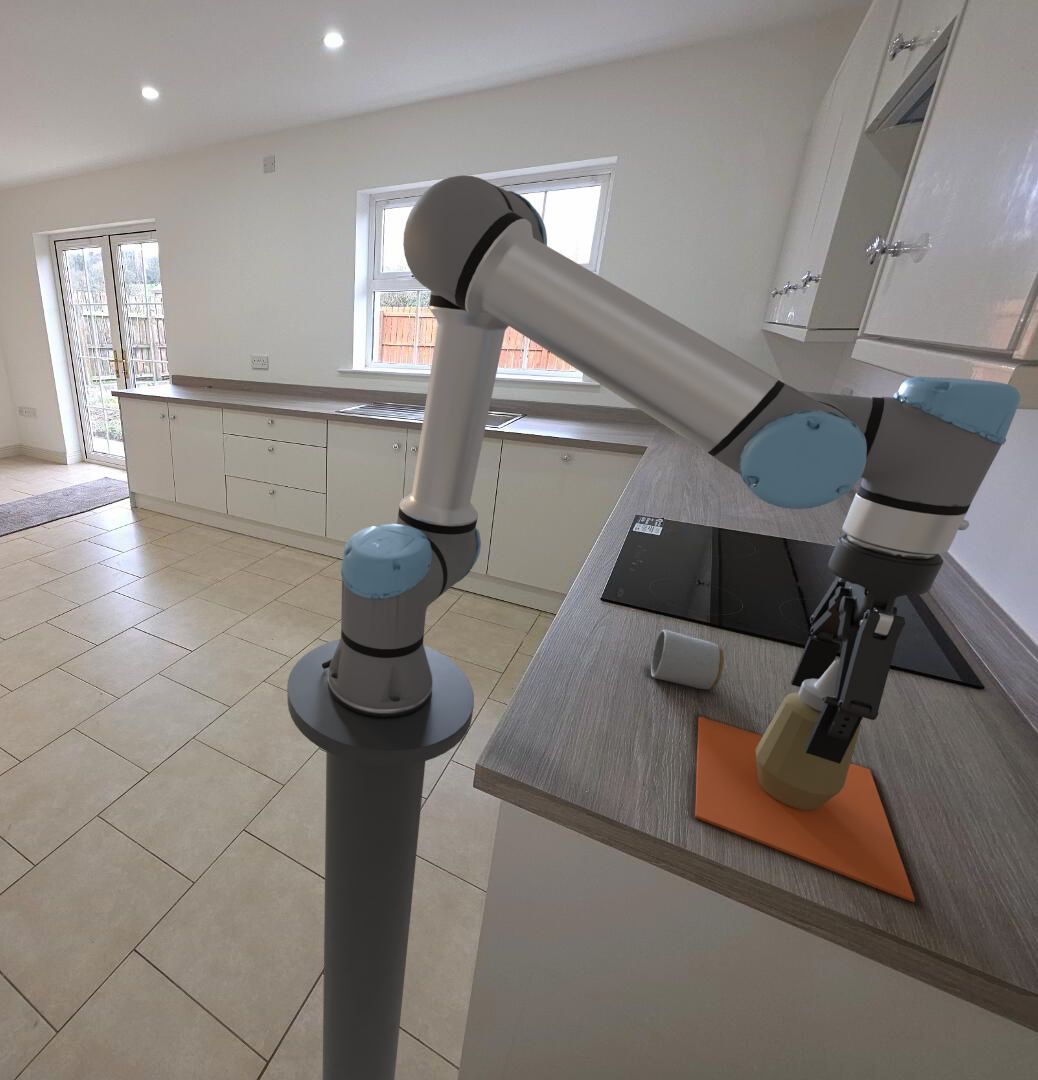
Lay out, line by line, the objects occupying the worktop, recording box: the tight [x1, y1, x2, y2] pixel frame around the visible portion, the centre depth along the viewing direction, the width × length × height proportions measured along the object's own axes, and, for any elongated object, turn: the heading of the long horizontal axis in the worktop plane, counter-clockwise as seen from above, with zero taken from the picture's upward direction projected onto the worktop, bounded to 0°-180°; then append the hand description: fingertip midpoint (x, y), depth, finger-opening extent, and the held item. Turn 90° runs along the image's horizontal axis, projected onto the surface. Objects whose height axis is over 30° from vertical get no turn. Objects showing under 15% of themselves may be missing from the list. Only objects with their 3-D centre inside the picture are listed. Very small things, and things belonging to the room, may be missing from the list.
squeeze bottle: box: [755, 658, 862, 810], centre depth 63 cm, size 8×8×18 cm
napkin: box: [694, 715, 916, 903], centre depth 67 cm, size 18×20×1 cm
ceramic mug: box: [650, 629, 725, 690], centre depth 87 cm, size 11×8×8 cm
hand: (812, 719), depth 63 cm, fingers open, 13 cm apart
